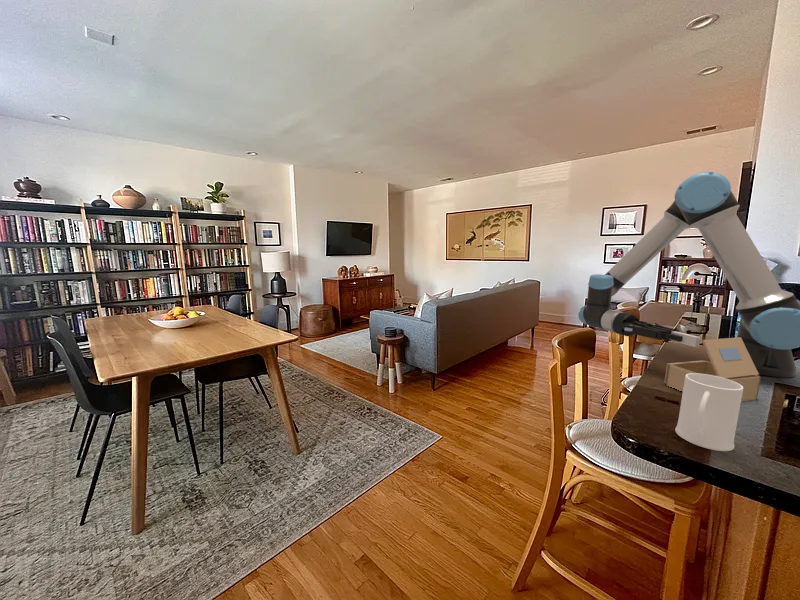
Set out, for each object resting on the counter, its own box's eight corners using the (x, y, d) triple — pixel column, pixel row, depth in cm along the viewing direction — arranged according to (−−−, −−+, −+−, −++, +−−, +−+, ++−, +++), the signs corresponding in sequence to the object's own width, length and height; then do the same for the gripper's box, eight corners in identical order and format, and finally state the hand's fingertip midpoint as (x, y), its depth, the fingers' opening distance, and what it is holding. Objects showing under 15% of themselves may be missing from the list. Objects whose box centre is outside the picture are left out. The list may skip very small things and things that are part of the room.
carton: (701, 379, 94) (705, 359, 93) (758, 399, 82) (763, 376, 81) (660, 384, 90) (663, 363, 89) (714, 405, 78) (718, 381, 77)
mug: (720, 463, 56) (732, 398, 54) (661, 438, 63) (669, 380, 62) (740, 443, 62) (751, 384, 61) (684, 422, 70) (692, 369, 68)
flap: (756, 374, 81) (738, 337, 84) (759, 374, 80) (741, 337, 84) (718, 378, 78) (701, 340, 81) (721, 378, 77) (704, 339, 81)
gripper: (634, 332, 112) (713, 354, 89) (603, 334, 109) (677, 357, 86) (637, 311, 111) (718, 327, 88) (605, 312, 108) (681, 329, 85)
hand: (697, 342), depth 87 cm, fingers closed
